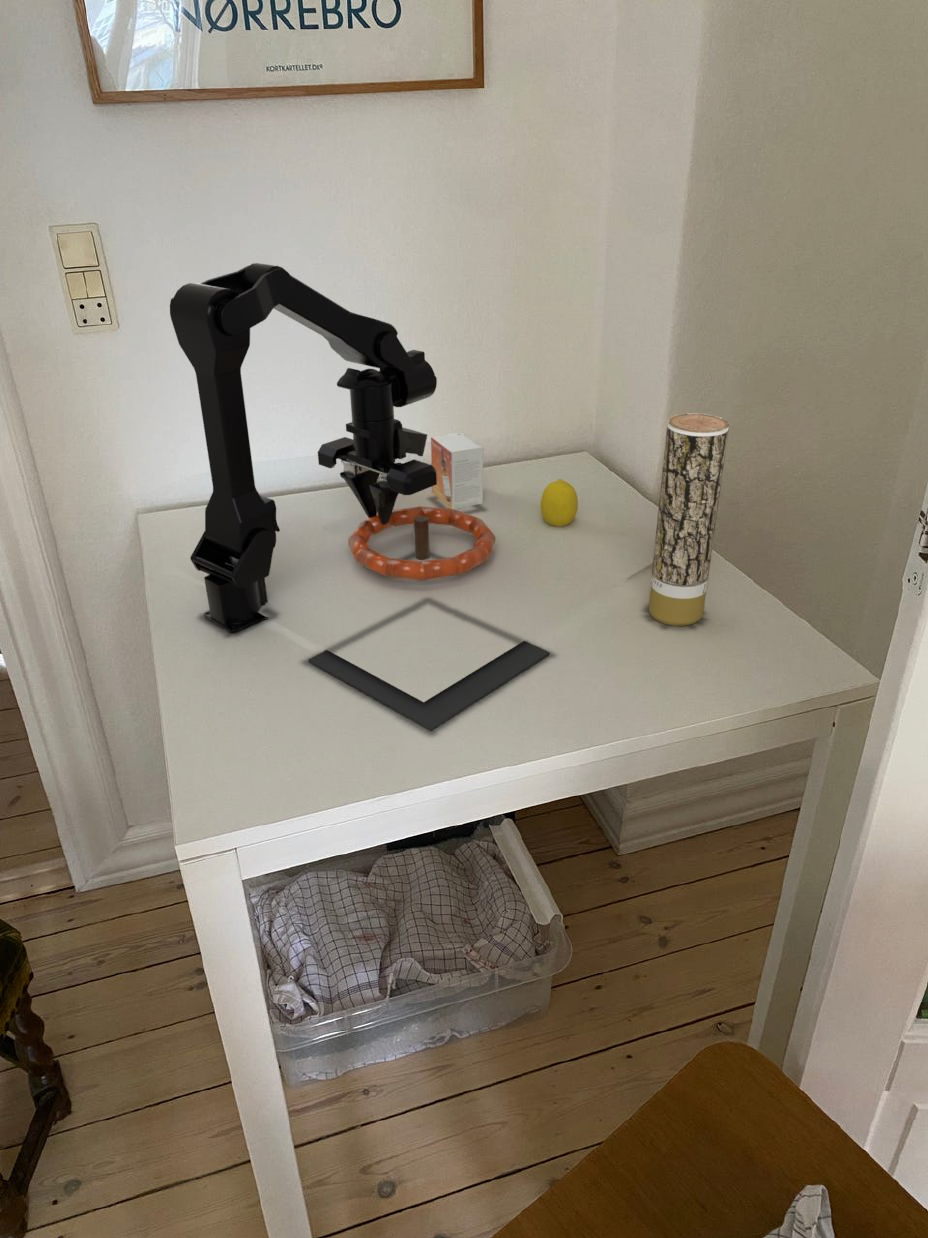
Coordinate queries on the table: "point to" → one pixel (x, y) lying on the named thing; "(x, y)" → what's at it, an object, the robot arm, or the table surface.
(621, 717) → the table surface
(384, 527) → the ring
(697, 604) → the paper tube
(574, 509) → the lemon
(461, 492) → the small box
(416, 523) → the brown cylinder
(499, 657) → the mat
